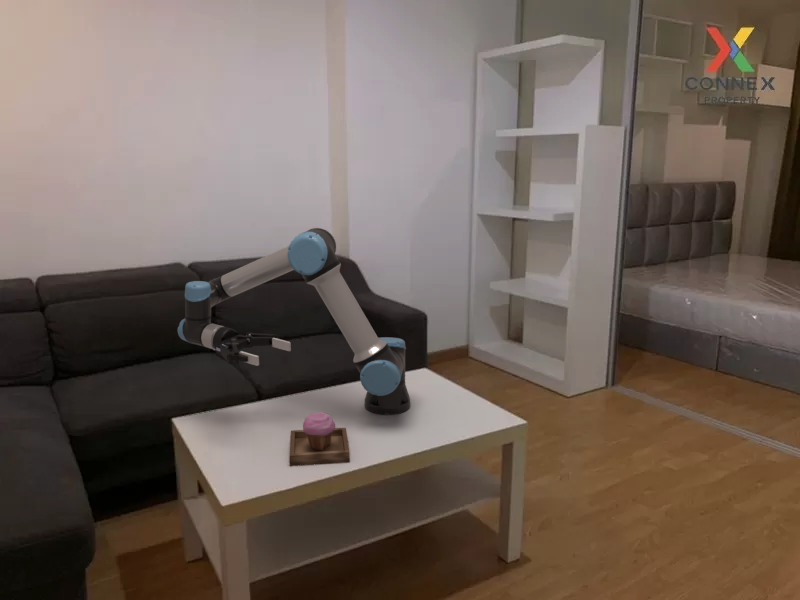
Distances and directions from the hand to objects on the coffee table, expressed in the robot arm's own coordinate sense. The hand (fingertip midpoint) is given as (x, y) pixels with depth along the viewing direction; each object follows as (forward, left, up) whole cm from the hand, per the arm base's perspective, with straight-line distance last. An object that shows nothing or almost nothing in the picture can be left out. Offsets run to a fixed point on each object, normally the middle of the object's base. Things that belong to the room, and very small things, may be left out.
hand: (274, 353), depth 184 cm
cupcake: (-12, +11, -25) cm, 30 cm away
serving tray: (-12, +11, -25) cm, 30 cm away
